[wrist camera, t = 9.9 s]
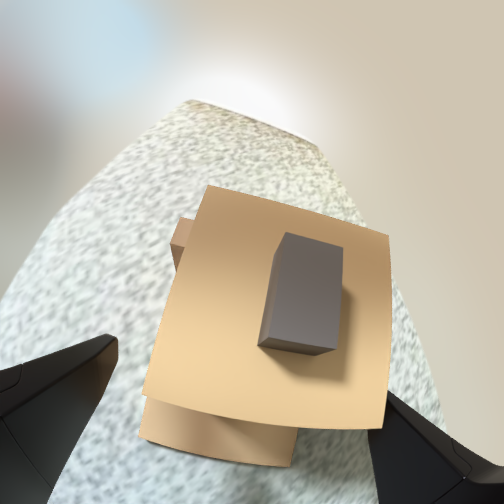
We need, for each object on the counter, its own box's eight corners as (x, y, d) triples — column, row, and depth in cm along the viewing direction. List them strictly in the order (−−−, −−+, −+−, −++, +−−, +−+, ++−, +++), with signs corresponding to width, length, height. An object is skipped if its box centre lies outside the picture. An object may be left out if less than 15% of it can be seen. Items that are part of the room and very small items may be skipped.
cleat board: (314, 299, 19) (356, 262, 13) (285, 463, 13) (323, 494, 8) (186, 267, 18) (180, 216, 13) (141, 434, 13) (110, 457, 7)
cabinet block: (270, 404, 14) (410, 431, 4) (185, 387, 14) (126, 396, 3) (284, 326, 17) (408, 215, 6) (204, 307, 16) (209, 155, 6)
